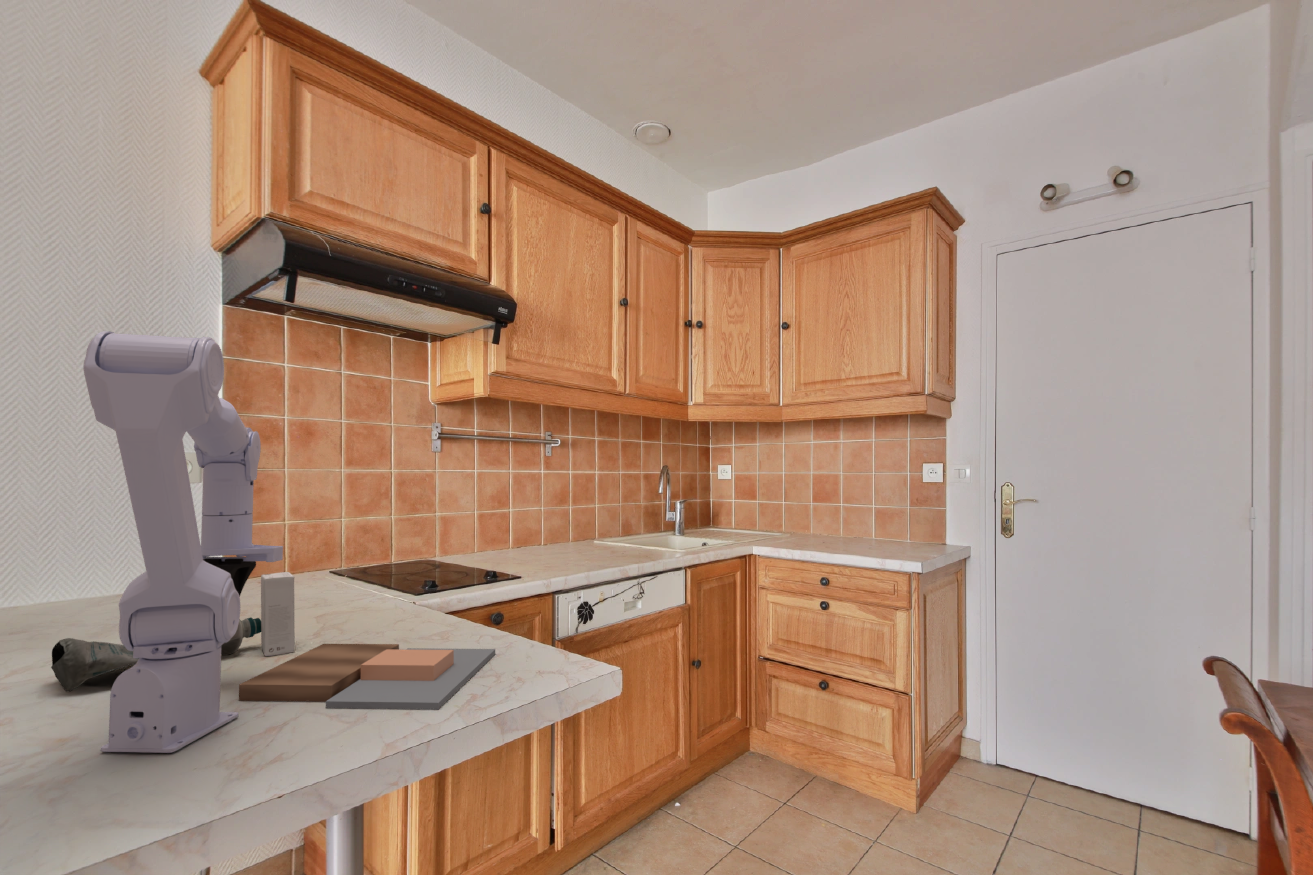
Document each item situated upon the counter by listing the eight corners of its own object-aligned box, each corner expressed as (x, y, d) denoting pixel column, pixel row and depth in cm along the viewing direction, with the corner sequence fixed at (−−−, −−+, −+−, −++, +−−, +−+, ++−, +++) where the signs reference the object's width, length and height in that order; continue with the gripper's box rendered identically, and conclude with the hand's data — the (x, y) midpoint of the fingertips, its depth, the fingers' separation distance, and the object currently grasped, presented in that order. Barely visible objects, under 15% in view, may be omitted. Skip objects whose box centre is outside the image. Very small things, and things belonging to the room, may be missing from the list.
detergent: (55, 703, 76) (277, 651, 96) (55, 645, 77) (276, 605, 96) (40, 689, 85) (247, 644, 104) (40, 636, 85) (246, 601, 105)
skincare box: (295, 652, 97) (297, 575, 98) (262, 657, 95) (264, 578, 95) (290, 643, 102) (292, 570, 103) (258, 648, 99) (260, 573, 100)
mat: (438, 709, 74) (438, 702, 74) (325, 707, 74) (325, 701, 74) (495, 654, 96) (495, 648, 96) (407, 653, 96) (407, 648, 96)
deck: (331, 701, 76) (331, 685, 76) (238, 700, 77) (239, 684, 77) (398, 657, 94) (398, 644, 94) (323, 656, 95) (323, 643, 95)
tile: (433, 680, 81) (433, 665, 81) (360, 679, 82) (360, 664, 82) (453, 663, 88) (453, 649, 88) (386, 663, 89) (386, 649, 89)
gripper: (297, 512, 87) (295, 608, 86) (200, 512, 88) (197, 608, 87) (263, 516, 80) (260, 621, 79) (157, 516, 81) (153, 620, 80)
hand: (224, 615), depth 83 cm, fingers closed
